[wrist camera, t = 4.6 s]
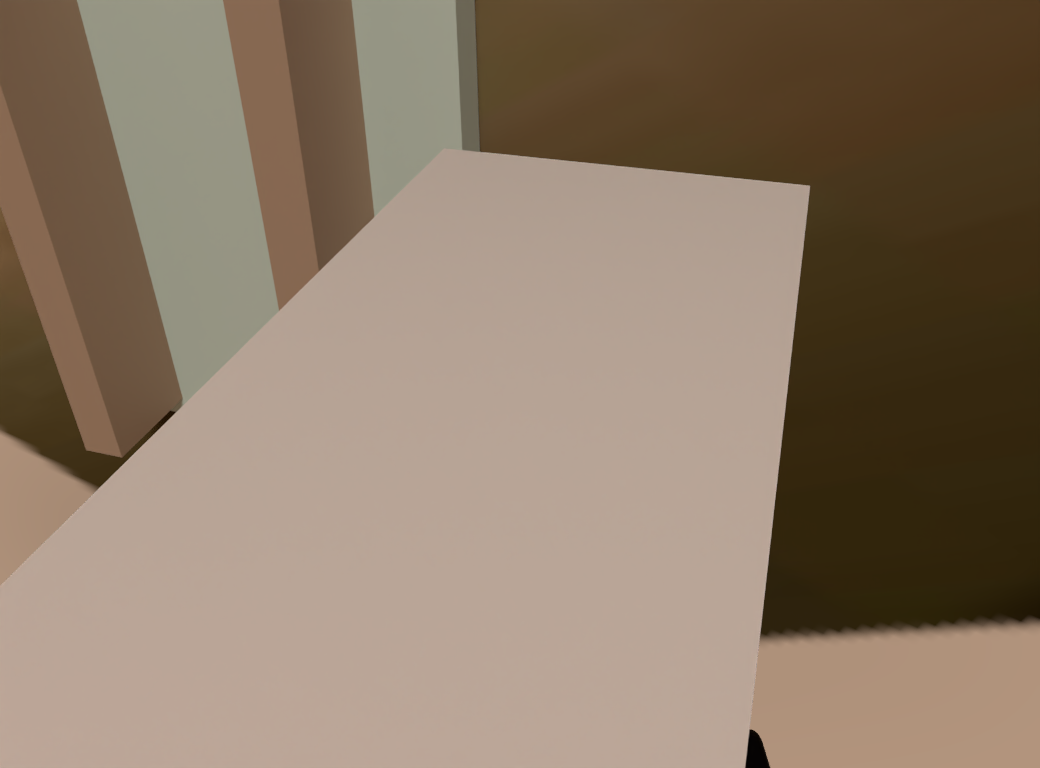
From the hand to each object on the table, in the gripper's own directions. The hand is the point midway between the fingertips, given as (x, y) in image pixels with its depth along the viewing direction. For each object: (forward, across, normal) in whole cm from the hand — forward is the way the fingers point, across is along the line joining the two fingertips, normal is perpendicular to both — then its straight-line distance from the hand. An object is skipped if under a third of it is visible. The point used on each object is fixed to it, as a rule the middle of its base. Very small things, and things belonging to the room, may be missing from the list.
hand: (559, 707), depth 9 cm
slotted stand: (+12, +10, 0) cm, 15 cm away
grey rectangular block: (+2, 0, 0) cm, 2 cm away
